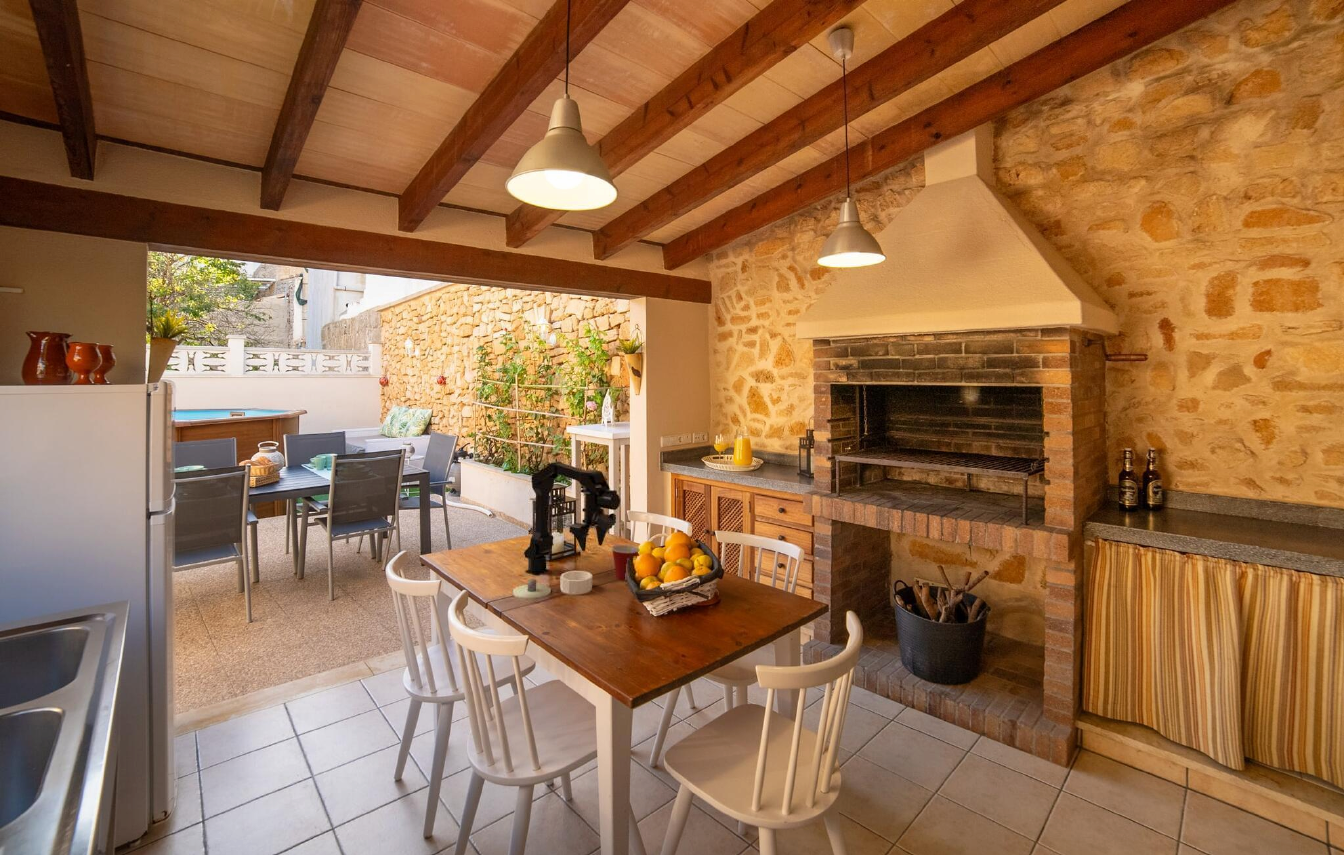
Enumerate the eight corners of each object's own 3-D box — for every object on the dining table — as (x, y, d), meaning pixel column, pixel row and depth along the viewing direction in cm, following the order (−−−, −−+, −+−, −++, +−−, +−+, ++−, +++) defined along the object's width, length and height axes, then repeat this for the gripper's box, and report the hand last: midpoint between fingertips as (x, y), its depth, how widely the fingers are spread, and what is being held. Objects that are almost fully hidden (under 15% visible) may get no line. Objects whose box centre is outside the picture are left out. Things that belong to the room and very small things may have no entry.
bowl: (554, 590, 212) (554, 576, 211) (574, 582, 221) (574, 568, 221) (578, 597, 206) (578, 583, 206) (597, 588, 215) (598, 574, 215)
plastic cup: (644, 579, 227) (645, 548, 226) (621, 585, 219) (622, 553, 218) (627, 571, 235) (628, 541, 234) (604, 577, 227) (605, 546, 226)
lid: (504, 594, 208) (504, 582, 207) (531, 584, 219) (531, 572, 218) (532, 602, 201) (532, 589, 201) (558, 591, 212) (558, 579, 212)
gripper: (593, 513, 202) (592, 558, 203) (626, 504, 218) (625, 546, 219) (568, 508, 208) (567, 552, 209) (603, 500, 224) (602, 541, 225)
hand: (592, 548), depth 216 cm, fingers open, 9 cm apart
